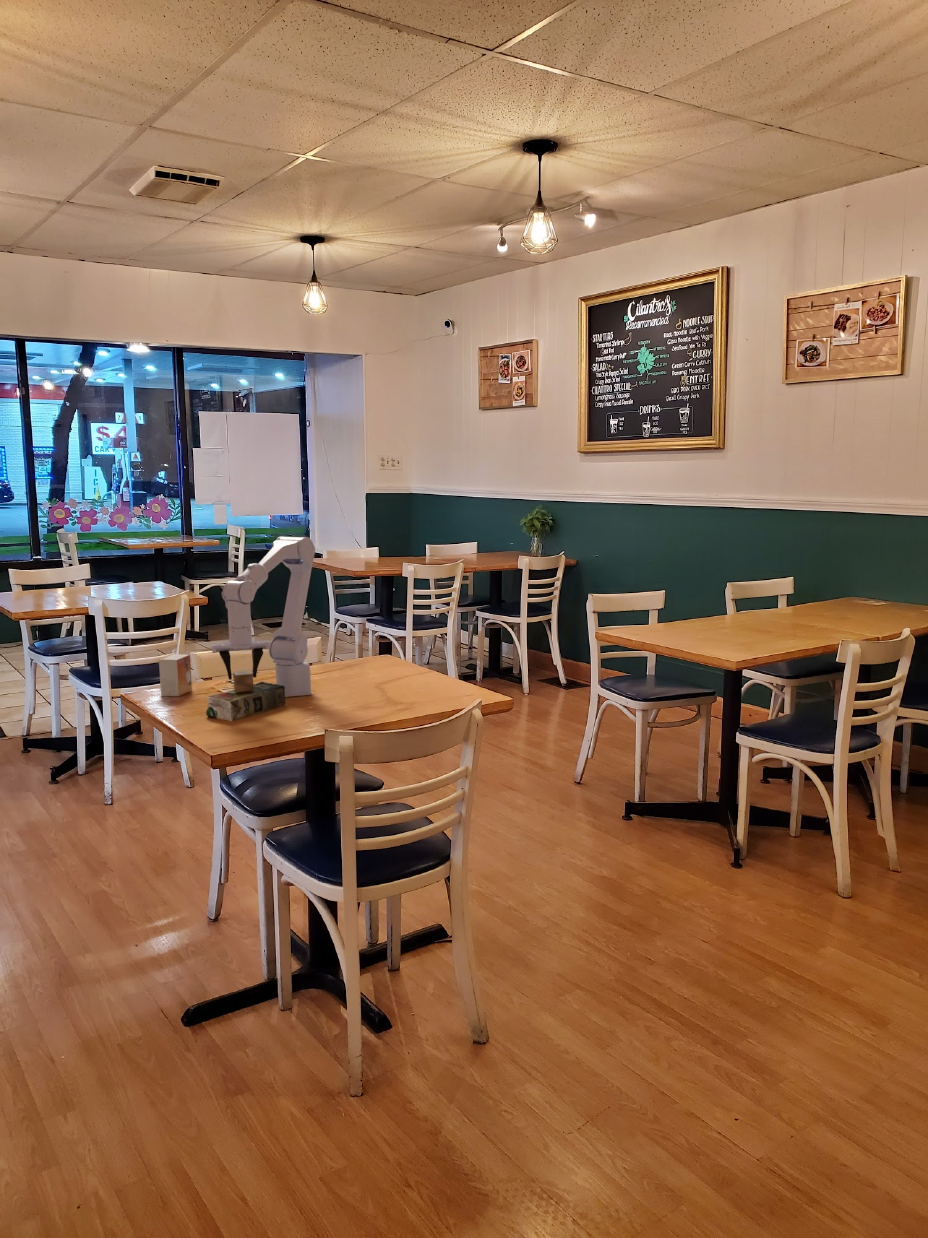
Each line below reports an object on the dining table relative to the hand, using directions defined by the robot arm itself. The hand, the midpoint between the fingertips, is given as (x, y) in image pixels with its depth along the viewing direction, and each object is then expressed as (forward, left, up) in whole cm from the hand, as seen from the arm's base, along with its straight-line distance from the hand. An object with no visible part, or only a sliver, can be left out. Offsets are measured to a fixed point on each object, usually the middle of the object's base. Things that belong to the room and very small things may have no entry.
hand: (242, 677), depth 244 cm
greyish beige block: (0, 0, -3) cm, 3 cm away
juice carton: (0, +1, -9) cm, 9 cm away
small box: (+16, -25, -9) cm, 31 cm away
